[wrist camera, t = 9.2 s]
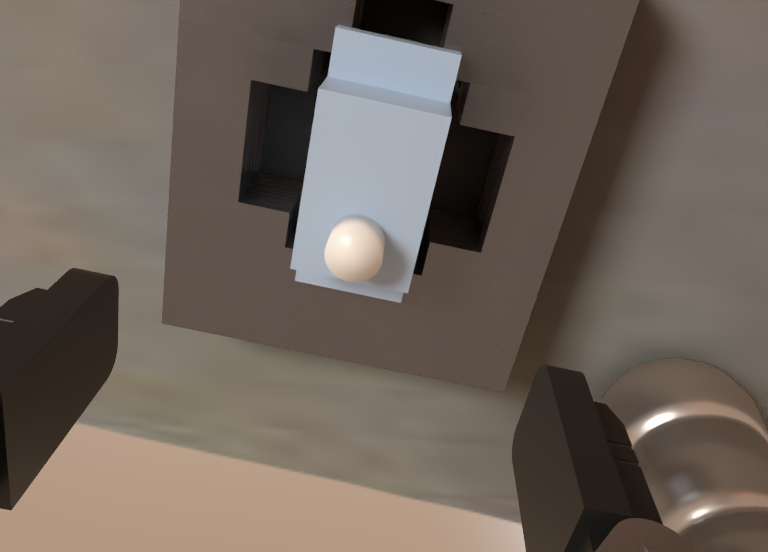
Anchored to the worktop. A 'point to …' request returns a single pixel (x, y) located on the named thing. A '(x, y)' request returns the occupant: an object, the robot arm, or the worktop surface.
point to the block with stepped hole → (443, 229)
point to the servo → (373, 162)
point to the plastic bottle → (698, 451)
